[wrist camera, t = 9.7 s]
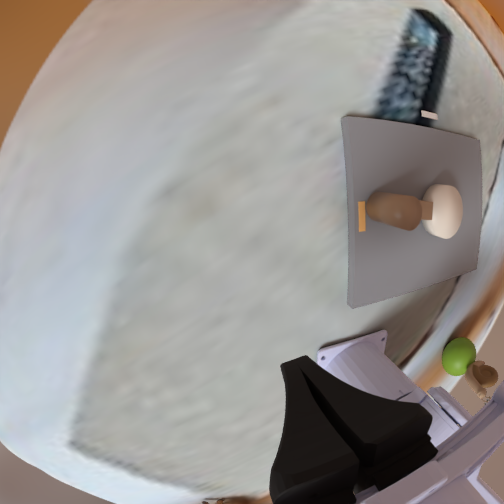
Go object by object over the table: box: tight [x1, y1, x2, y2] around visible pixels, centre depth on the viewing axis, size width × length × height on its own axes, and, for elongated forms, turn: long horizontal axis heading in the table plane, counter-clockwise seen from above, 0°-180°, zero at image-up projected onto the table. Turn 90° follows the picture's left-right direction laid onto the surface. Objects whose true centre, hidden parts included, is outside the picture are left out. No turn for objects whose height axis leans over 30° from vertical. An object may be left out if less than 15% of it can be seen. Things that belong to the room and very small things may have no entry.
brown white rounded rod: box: [366, 184, 463, 239], centre depth 19 cm, size 12×5×4 cm, turn 90°
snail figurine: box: [442, 337, 498, 405], centre depth 24 cm, size 5×6×12 cm
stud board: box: [341, 110, 482, 309], centre depth 22 cm, size 18×20×1 cm
